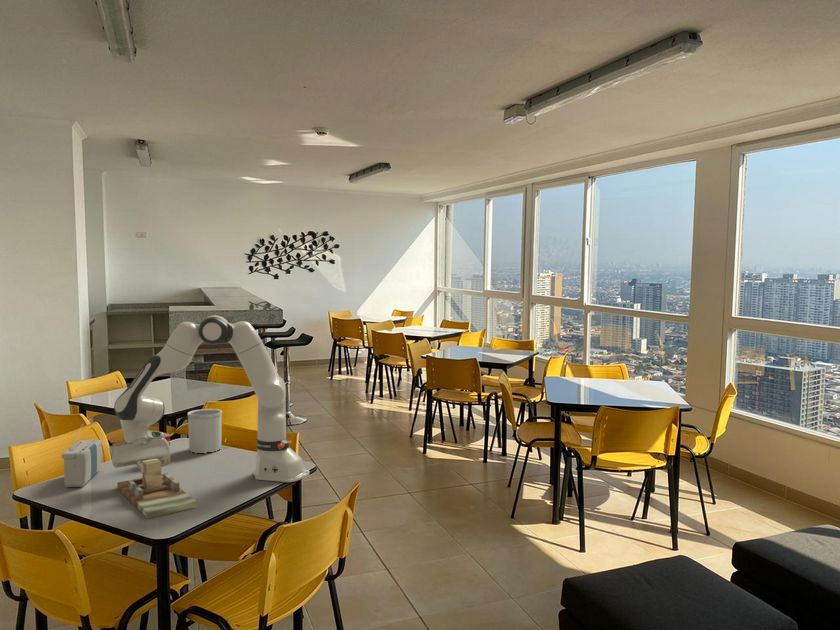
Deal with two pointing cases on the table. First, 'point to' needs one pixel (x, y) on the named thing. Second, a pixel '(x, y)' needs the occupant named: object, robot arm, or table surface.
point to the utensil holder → (204, 430)
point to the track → (157, 497)
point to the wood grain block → (152, 476)
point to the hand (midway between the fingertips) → (146, 472)
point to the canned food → (167, 437)
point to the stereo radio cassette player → (82, 462)
